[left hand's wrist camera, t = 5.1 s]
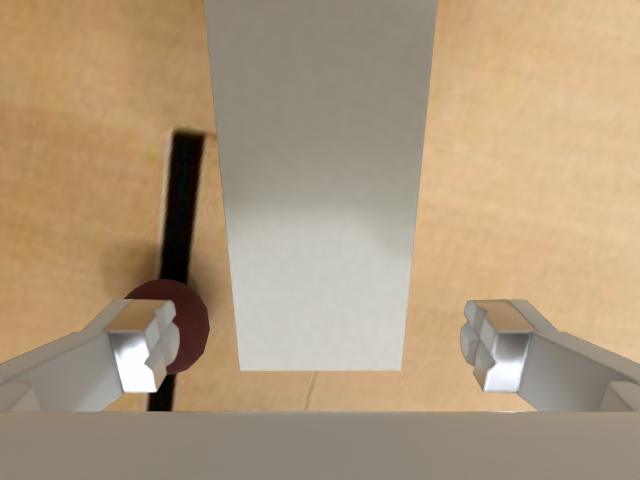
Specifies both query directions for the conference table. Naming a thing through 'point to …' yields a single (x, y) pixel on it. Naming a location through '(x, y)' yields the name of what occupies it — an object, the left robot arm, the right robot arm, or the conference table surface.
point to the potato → (180, 318)
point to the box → (320, 174)
